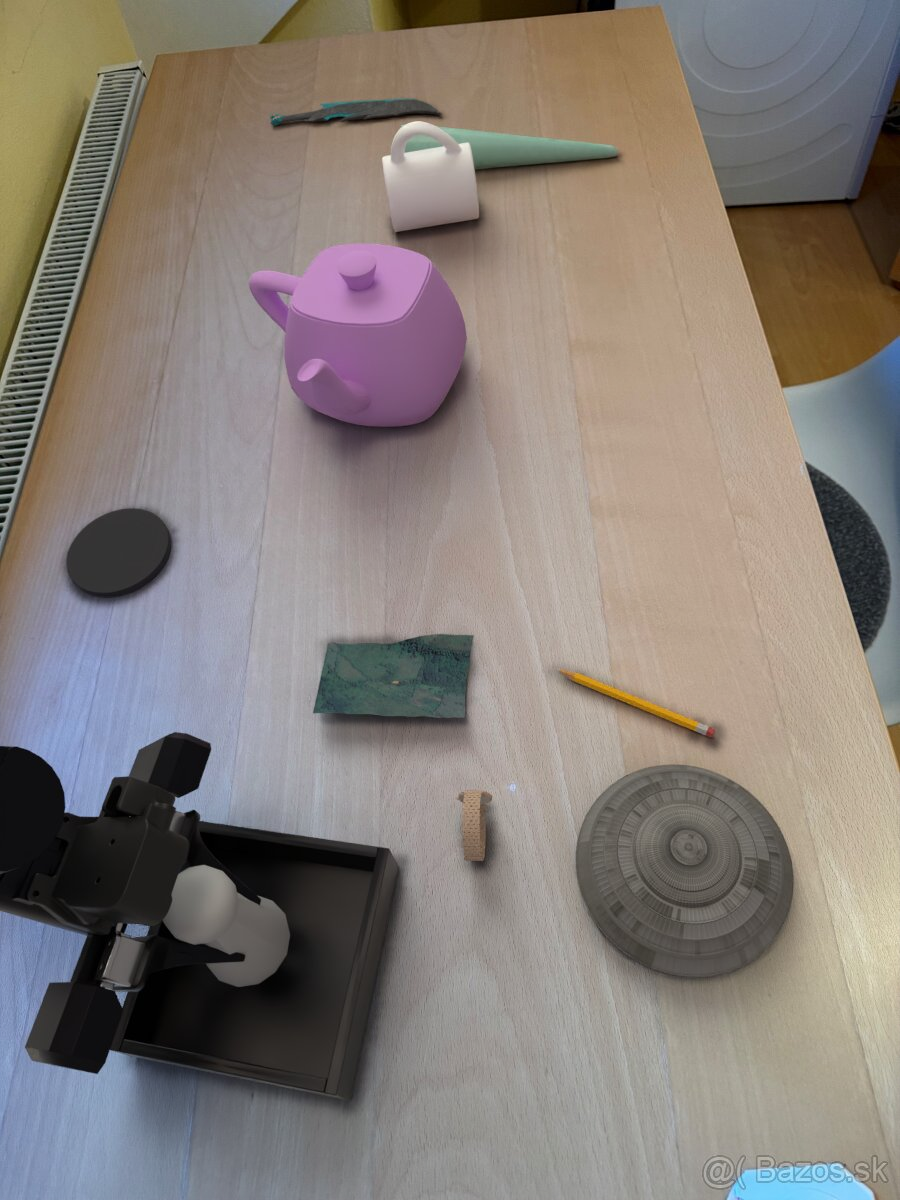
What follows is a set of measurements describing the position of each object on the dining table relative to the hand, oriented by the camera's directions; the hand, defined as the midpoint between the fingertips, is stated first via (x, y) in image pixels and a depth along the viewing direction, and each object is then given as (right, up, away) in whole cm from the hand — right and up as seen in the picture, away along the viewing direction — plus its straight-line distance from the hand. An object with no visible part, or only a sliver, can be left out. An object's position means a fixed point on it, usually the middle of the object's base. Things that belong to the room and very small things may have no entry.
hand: (250, 930), depth 57 cm
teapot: (+6, +43, +39) cm, 58 cm away
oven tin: (0, -5, +8) cm, 10 cm away
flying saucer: (+29, +1, +8) cm, 30 cm away
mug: (+11, +67, +53) cm, 87 cm away
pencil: (+27, +13, +16) cm, 34 cm away
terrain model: (+8, +14, +19) cm, 25 cm away
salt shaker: (-1, -3, +5) cm, 6 cm away
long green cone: (+20, +76, +58) cm, 98 cm away
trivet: (-19, +25, +30) cm, 44 cm away
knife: (0, +88, +68) cm, 112 cm away
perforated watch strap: (+15, +3, +11) cm, 19 cm away
